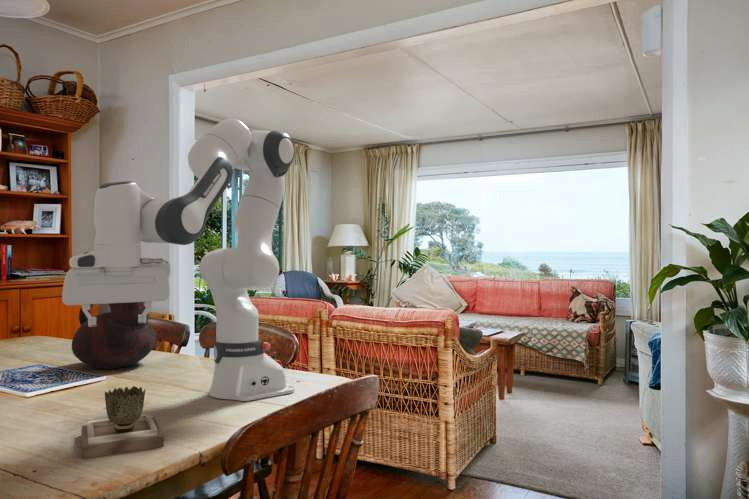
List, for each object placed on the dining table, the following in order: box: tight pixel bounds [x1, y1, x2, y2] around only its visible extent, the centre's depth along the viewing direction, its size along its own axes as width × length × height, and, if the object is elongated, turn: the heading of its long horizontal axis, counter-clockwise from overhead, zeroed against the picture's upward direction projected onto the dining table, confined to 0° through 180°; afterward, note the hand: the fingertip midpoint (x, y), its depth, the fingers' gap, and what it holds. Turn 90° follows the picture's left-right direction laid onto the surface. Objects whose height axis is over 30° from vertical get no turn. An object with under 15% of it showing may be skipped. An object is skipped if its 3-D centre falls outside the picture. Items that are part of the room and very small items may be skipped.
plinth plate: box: [80, 413, 165, 459], centre depth 109 cm, size 14×14×3 cm
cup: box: [104, 385, 146, 432], centre depth 109 cm, size 8×7×8 cm
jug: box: [71, 302, 157, 370], centre depth 180 cm, size 25×25×25 cm
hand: (117, 324), depth 114 cm, fingers open, 8 cm apart
